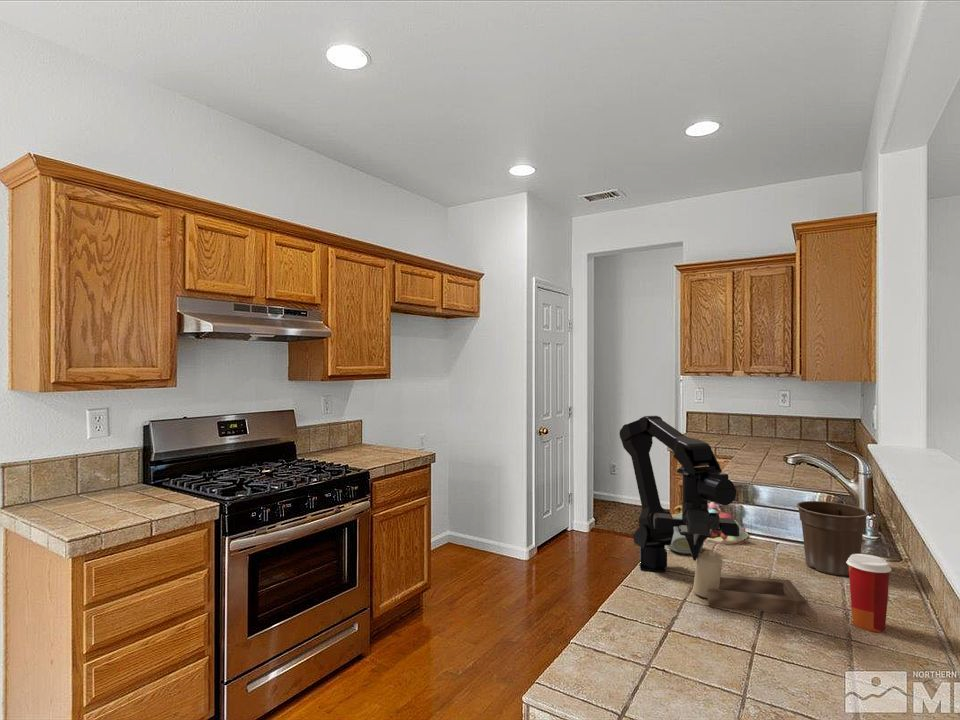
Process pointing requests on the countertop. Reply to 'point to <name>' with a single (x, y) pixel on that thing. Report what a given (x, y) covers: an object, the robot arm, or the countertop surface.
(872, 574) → the paper cup
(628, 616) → the countertop surface
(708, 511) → the robot arm
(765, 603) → the u rest
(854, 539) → the plant pot
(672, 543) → the air freshener
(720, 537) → the candy landscape model
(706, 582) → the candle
